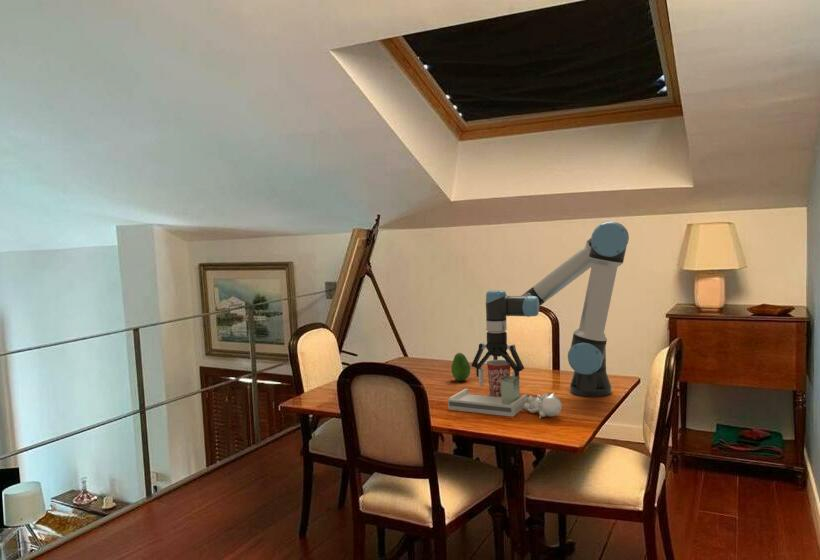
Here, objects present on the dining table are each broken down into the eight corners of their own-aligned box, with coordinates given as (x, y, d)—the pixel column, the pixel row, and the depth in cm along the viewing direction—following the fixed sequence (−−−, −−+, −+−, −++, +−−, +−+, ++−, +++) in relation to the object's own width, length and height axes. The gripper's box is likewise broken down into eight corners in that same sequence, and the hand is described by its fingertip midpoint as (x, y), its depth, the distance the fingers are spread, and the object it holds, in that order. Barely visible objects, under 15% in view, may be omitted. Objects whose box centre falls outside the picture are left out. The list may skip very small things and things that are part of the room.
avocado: (450, 382, 257) (449, 354, 256) (452, 378, 265) (451, 351, 264) (470, 382, 256) (468, 354, 255) (471, 378, 264) (470, 350, 263)
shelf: (527, 405, 219) (527, 394, 219) (512, 416, 206) (512, 405, 206) (465, 399, 231) (465, 388, 231) (448, 409, 218) (447, 398, 218)
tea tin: (520, 402, 216) (519, 376, 215) (514, 406, 211) (513, 380, 210) (507, 401, 218) (507, 375, 218) (501, 405, 213) (500, 379, 212)
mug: (515, 399, 227) (513, 363, 226) (490, 401, 226) (489, 365, 225) (506, 391, 240) (505, 357, 239) (483, 393, 239) (482, 358, 238)
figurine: (529, 385, 215) (556, 385, 202) (544, 398, 217) (571, 399, 203) (515, 410, 211) (541, 412, 198) (529, 423, 213) (557, 426, 199)
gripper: (531, 331, 228) (532, 387, 230) (470, 328, 241) (471, 381, 242) (525, 334, 222) (526, 392, 223) (462, 331, 234) (463, 386, 236)
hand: (497, 387), depth 233 cm, fingers open, 13 cm apart
